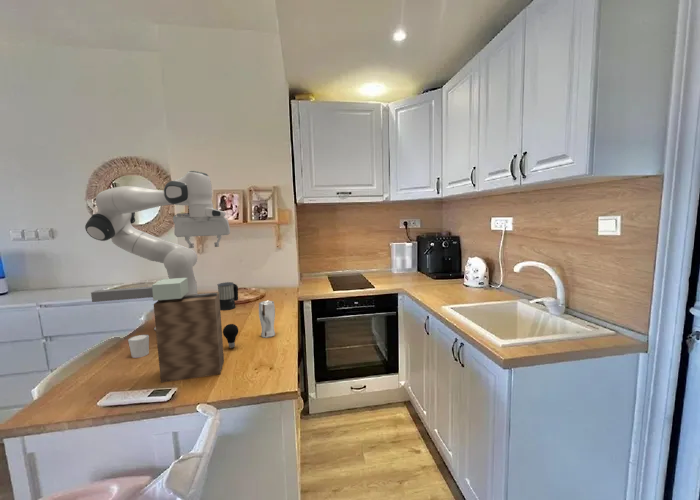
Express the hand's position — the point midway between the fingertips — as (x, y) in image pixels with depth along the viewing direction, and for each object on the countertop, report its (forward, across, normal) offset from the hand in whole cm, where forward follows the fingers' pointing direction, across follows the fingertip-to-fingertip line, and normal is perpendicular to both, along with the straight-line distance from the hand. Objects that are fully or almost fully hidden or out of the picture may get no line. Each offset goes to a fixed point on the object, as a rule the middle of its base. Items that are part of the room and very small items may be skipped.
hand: (204, 247), depth 127 cm
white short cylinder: (+41, -26, 0) cm, 49 cm away
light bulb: (+41, +8, -5) cm, 42 cm away
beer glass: (+41, +23, +5) cm, 47 cm away
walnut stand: (+41, -2, -22) cm, 47 cm away
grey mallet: (+14, -16, -22) cm, 31 cm away
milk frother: (+42, -3, +62) cm, 74 cm away
